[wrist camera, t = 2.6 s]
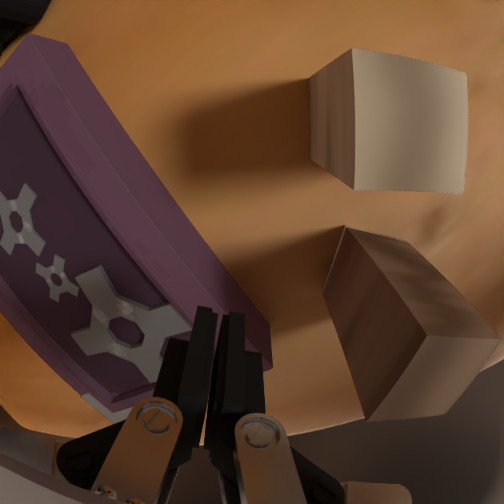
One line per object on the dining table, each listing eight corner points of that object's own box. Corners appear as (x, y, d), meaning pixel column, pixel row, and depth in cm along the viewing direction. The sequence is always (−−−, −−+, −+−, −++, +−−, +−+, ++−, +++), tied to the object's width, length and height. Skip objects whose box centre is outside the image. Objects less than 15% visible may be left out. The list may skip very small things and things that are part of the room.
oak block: (386, 85, 15) (466, 73, 8) (387, 161, 17) (463, 193, 10) (308, 78, 15) (351, 48, 8) (310, 160, 17) (354, 190, 10)
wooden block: (406, 241, 19) (501, 339, 9) (381, 300, 21) (444, 414, 11) (344, 224, 19) (427, 335, 9) (321, 290, 21) (366, 421, 11)
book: (-32, 184, 17) (-68, 201, 13) (70, 44, 14) (26, 32, 9) (128, 385, 26) (114, 424, 21) (270, 322, 22) (274, 370, 18)
